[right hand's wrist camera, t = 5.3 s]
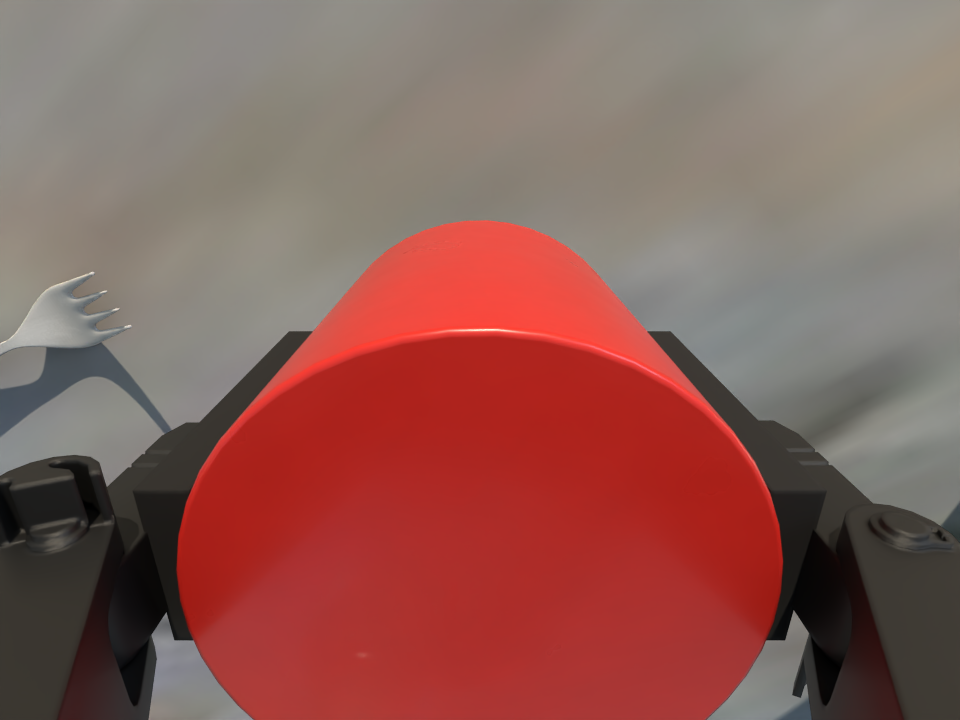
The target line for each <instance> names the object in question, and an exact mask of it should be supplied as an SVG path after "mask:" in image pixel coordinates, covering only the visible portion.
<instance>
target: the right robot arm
mask: <svg viewBox="0 0 960 720" xmlns="http://www.w3.org/2000/svg"><path fill="white" fill-rule="evenodd" d="M312 332H313V331H289V332H288V333H287V334H286V335H285V336H284V337H283V338H282V339H281V340H280V341H279V342H278V343H277V344H276V345H275V346H274V347H273V348H272V349H271V350H270V351H269V352H268V353H267V354H266V355H265V356H264V358H263V359H262V360H261V361H260V362H259V363H258V364H257V365H256V366H255V367H254V368H253V369H252V370H251V371H250V372H249V373H248V374H247V375H246V376H245V377H244V378H243V379H242V380H241V381H240V382H239V383H238V384H237V385H236V386H235V387H234V388H233V389H232V390H231V391H230V392H229V393H228V394H227V395H226V396H225V397H224V398H223V399H222V400H221V401H220V402H219V403H218V404H217V405H216V406H215V407H214V408H213V409H212V410H211V411H210V412H209V413H208V414H207V415H206V416H205V417H204V418H203V419H202V420H201V421H200V423H185V424H183V425H181V426H179V427H177V428H176V429H174V430H172V431H170V432H168V433H166V434H164V435H162V436H161V437H160V438H159V439H158V440H157V441H156V442H155V443H154V444H153V445H152V446H151V447H149V448H148V449H147V450H146V451H145V452H146V453H145V454H142V455H141V456H140V457H139V458H138V459H137V460H136V461H134V462H133V463H132V467H131V468H127V469H126V470H125V471H124V472H123V473H122V474H121V475H120V476H118V477H117V478H116V479H115V480H114V481H113V482H112V483H111V484H110V485H109V486H108V487H106V483H105V480H104V477H103V473H102V470H101V467H100V463H99V462H98V461H96V460H94V459H93V458H91V457H87V456H78V455H70V456H59V457H52V458H48V459H44V460H40V461H36V462H32V463H29V464H26V465H24V466H21V467H18V468H16V469H13V470H11V471H8V472H6V473H5V474H3V475H1V476H0V720H148V718H149V711H150V704H151V697H152V689H153V682H154V675H155V667H156V660H157V658H156V651H155V646H154V643H153V639H152V636H151V634H152V633H153V631H154V630H155V628H156V627H157V625H158V624H159V622H160V621H161V619H162V618H163V616H164V615H165V613H166V612H167V615H168V619H169V622H170V626H171V630H172V633H173V637H174V640H193V638H192V636H191V634H190V632H189V629H188V626H187V622H186V619H185V615H184V612H183V609H182V605H181V602H180V595H179V586H178V578H177V553H178V536H179V531H180V527H181V522H182V518H183V514H184V509H185V505H186V501H187V499H188V497H189V494H190V492H191V490H192V487H193V485H194V483H195V480H196V478H197V476H198V473H199V471H200V469H201V468H202V466H203V464H204V463H205V461H206V460H207V458H208V457H209V455H210V454H211V452H212V450H213V449H214V447H215V446H216V444H217V443H218V441H219V440H220V438H221V437H222V436H223V435H224V434H225V433H226V432H227V430H228V429H229V428H230V427H231V426H232V425H233V423H234V422H235V421H236V420H237V419H238V418H239V417H240V415H241V414H242V413H243V412H244V411H245V410H246V408H247V407H248V406H249V405H250V404H251V403H252V401H253V400H254V399H255V398H256V397H257V396H258V395H259V393H260V392H261V391H262V390H263V389H264V388H265V386H266V385H267V384H268V383H269V382H270V381H271V379H272V378H273V377H274V376H275V375H276V374H277V373H278V371H279V370H280V369H281V368H282V367H283V366H284V364H285V363H286V362H287V361H288V360H289V359H290V357H291V356H292V355H293V354H294V353H295V352H296V351H297V349H298V348H299V347H300V346H301V345H302V344H303V342H304V341H305V340H306V339H307V338H308V337H309V335H310V334H311V333H312ZM647 332H648V333H649V334H650V336H651V337H652V338H653V339H654V340H655V341H656V342H657V344H658V345H659V346H660V347H661V348H662V349H663V351H664V352H665V353H666V354H667V355H668V356H669V358H670V359H671V360H672V361H673V362H674V363H675V364H676V366H677V367H678V368H679V369H680V370H681V371H682V373H683V374H684V375H685V376H686V377H687V378H688V379H689V381H690V382H691V383H692V384H693V385H694V386H695V388H696V389H697V390H698V391H699V392H700V393H701V395H702V396H703V397H704V398H705V399H706V400H707V401H708V403H709V404H710V405H711V406H712V407H713V408H714V410H715V411H716V412H717V413H718V414H719V415H720V417H721V418H722V419H723V420H724V421H725V422H726V423H727V425H728V426H729V427H730V428H731V429H732V430H733V432H734V433H735V434H736V436H737V437H738V439H739V440H740V441H741V443H742V444H743V446H744V447H745V448H746V450H747V451H748V453H749V454H750V455H751V457H752V458H753V460H754V461H755V463H756V465H757V467H758V469H759V471H760V473H761V475H762V477H763V479H764V481H765V484H766V486H767V488H768V490H769V492H770V494H771V498H772V501H773V505H774V508H775V512H776V515H777V519H778V522H779V527H780V537H781V547H782V556H783V568H782V583H781V594H780V598H779V602H778V606H777V610H776V614H775V618H774V622H773V625H772V627H771V629H770V632H769V634H768V637H767V639H766V640H785V639H786V635H787V632H788V628H789V625H790V621H791V617H792V614H793V610H794V611H795V612H796V614H797V615H798V617H799V618H800V620H801V621H802V623H803V624H804V626H805V627H806V629H807V630H808V632H809V636H808V639H807V643H806V646H805V649H804V653H803V656H802V659H801V662H800V666H799V669H798V672H797V676H796V679H795V682H794V688H793V694H792V695H794V696H797V697H800V698H801V695H802V692H803V689H804V686H805V685H806V684H807V688H808V695H809V702H810V709H811V717H812V720H960V543H959V542H958V541H957V540H956V538H955V537H954V536H953V535H952V534H951V533H950V532H948V531H947V530H945V529H944V528H942V527H941V526H939V525H938V524H936V523H935V522H933V521H931V520H929V519H927V518H925V517H923V516H920V515H918V514H916V513H914V512H911V511H908V510H904V509H901V508H897V507H894V506H890V505H882V504H873V503H872V502H871V501H870V500H869V499H868V498H867V497H866V496H864V495H863V494H862V493H861V492H860V491H859V490H858V489H857V488H856V487H855V486H854V485H853V484H852V483H850V482H849V481H848V480H847V479H846V478H845V477H844V476H843V475H842V474H841V473H840V472H839V471H838V470H836V469H835V468H834V467H833V466H832V465H829V464H828V461H827V460H826V459H825V458H824V457H822V456H821V455H820V454H819V453H818V452H815V449H814V448H813V447H812V446H811V445H810V444H809V443H807V442H806V441H805V440H804V439H803V438H802V437H801V436H800V435H799V434H797V433H796V432H794V431H792V430H790V429H788V428H786V427H784V426H782V425H781V424H779V423H777V422H775V421H758V420H757V419H756V418H755V417H754V416H753V415H752V414H751V413H750V412H749V411H748V410H747V409H746V408H745V407H744V406H743V405H742V404H741V403H740V402H739V401H738V400H737V399H736V398H735V397H734V396H733V394H732V393H731V392H730V391H729V390H728V389H727V388H726V387H725V386H724V385H723V384H722V383H721V382H720V381H719V380H718V379H717V378H716V377H715V376H714V375H713V374H712V373H711V372H710V371H709V370H708V369H707V368H706V367H705V366H704V365H703V364H702V363H701V362H700V361H699V360H698V359H697V358H696V357H695V356H694V355H693V354H692V353H691V352H690V351H689V350H688V349H687V348H686V347H685V346H684V345H683V344H682V343H681V342H680V341H679V340H678V339H677V338H676V337H675V336H674V335H673V334H672V333H671V331H647Z"/></svg>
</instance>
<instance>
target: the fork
mask: <svg viewBox="0 0 960 720" xmlns="http://www.w3.org/2000/svg"><path fill="white" fill-rule="evenodd" d="M93 275H95V272H91V273H89V274H86V275H83V276H80V277H77V278H74V279H72V280H69V281H66V282H63V283H60V284H57V285H54V286H52V287H50V288H48V289H47V290H46V291H45V292H43V293H42V295H41V296H40V297H39V298H38V299H37V301H36V302H35V303H34V305H33V306H32V308H31V310H30V311H29V313H28V315H27V316H26V318H25V320H24V322H23V323H22V325H21V326H20V328H19V329H18V330H17V332H16V333H15V334H14V335H13V336H12V337H11V338H10V339H8V340H6V341H4V342H2V343H0V356H1V355H2V354H4V353H6V352H8V351H10V350H12V349H16V348H20V347H52V348H85V347H91V346H94V345H96V344H99V343H101V342H102V341H104V340H106V339H108V338H110V337H112V336H115V335H117V334H119V333H121V332H123V331H125V330H127V329H130V328H131V327H132V326H131V325H128V326H123V327H117V328H111V329H107V330H98V329H97V328H96V323H97V322H99V321H101V320H103V319H105V318H106V317H108V316H110V315H112V314H113V313H115V312H116V311H118V310H119V309H120V308H117V309H112V310H107V311H102V312H98V313H94V314H87V313H85V311H84V308H85V306H87V305H88V304H90V303H92V302H93V301H95V300H96V299H98V298H99V297H101V296H102V295H104V294H105V293H106V292H107V291H102V292H98V293H94V294H91V295H87V296H84V297H80V298H76V297H74V296H73V295H72V291H73V290H74V289H75V288H77V287H78V286H80V285H81V284H82V283H84V282H85V281H86V280H88V279H89V278H90V277H91V276H93Z"/></svg>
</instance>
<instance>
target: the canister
mask: <svg viewBox="0 0 960 720" xmlns="http://www.w3.org/2000/svg"><path fill="white" fill-rule="evenodd" d="M782 568H783V556H782V547H781V537H780V527H779V522H778V519H777V515H776V512H775V508H774V505H773V501H772V498H771V494H770V492H769V490H768V488H767V486H766V484H765V481H764V479H763V477H762V475H761V473H760V471H759V469H758V467H757V465H756V463H755V461H754V460H753V458H752V457H751V455H750V454H749V453H748V451H747V450H746V448H745V447H744V446H743V444H742V443H741V441H740V440H739V439H738V437H737V436H736V434H735V433H734V432H733V430H732V429H731V428H730V427H729V426H728V425H727V423H726V422H725V421H724V420H723V419H722V418H721V417H720V415H719V414H718V413H717V412H716V411H715V410H714V408H713V407H712V406H711V405H710V404H709V403H708V401H707V400H706V399H705V398H704V397H703V396H702V395H701V393H700V392H699V391H698V390H697V389H696V388H695V386H694V385H693V384H692V383H691V382H690V381H689V379H688V378H687V377H686V376H685V375H684V374H683V373H682V371H681V370H680V369H679V368H678V367H677V366H676V364H675V363H674V362H673V361H672V360H671V359H670V358H669V356H668V355H667V354H666V353H665V352H664V351H663V349H662V348H661V347H660V346H659V345H658V344H657V342H656V341H655V340H654V339H653V338H652V337H651V336H650V334H649V333H648V332H647V331H646V330H645V329H644V327H643V326H642V325H641V324H640V323H639V322H638V321H637V319H636V318H635V317H634V316H633V315H632V314H631V312H630V311H629V310H628V309H627V308H626V307H625V305H624V304H623V303H622V302H621V301H620V300H619V299H618V297H617V296H616V295H615V294H614V293H613V292H612V290H611V289H610V288H609V287H608V286H607V285H606V283H605V282H604V281H603V280H602V279H601V278H600V277H599V275H598V274H597V273H596V272H595V271H594V270H593V269H592V268H591V267H590V266H589V265H588V264H587V263H586V262H585V261H584V260H583V259H582V258H581V257H580V256H578V255H577V254H576V253H574V252H573V251H572V250H571V249H569V248H568V247H567V246H565V245H563V244H562V243H560V242H558V241H556V240H555V239H553V238H551V237H549V236H547V235H545V234H542V233H540V232H537V231H535V230H532V229H530V228H526V227H522V226H518V225H515V224H511V223H504V222H496V221H463V222H456V223H450V224H444V225H441V226H437V227H434V228H431V229H427V230H424V231H422V232H420V233H417V234H415V235H413V236H411V237H409V238H406V239H405V240H403V241H401V242H400V243H398V244H397V245H395V246H393V247H392V248H390V249H389V250H387V251H386V252H385V253H384V254H383V255H381V256H380V257H379V258H378V259H377V260H375V261H374V262H373V263H372V264H371V265H370V266H369V268H368V269H367V270H366V271H365V272H364V273H363V274H362V275H361V277H360V278H359V279H358V280H357V281H356V282H355V283H354V285H353V286H352V287H351V288H350V289H349V290H348V292H347V293H346V294H345V295H344V296H343V297H342V298H341V300H340V301H339V302H338V303H337V304H336V305H335V307H334V308H333V309H332V310H331V311H330V312H329V314H328V315H327V316H326V317H325V318H324V319H323V320H322V322H321V323H320V324H319V325H318V326H317V327H316V329H315V330H314V331H313V332H312V333H311V334H310V335H309V337H308V338H307V339H306V340H305V341H304V342H303V344H302V345H301V346H300V347H299V348H298V349H297V351H296V352H295V353H294V354H293V355H292V356H291V357H290V359H289V360H288V361H287V362H286V363H285V364H284V366H283V367H282V368H281V369H280V370H279V371H278V373H277V374H276V375H275V376H274V377H273V378H272V379H271V381H270V382H269V383H268V384H267V385H266V386H265V388H264V389H263V390H262V391H261V392H260V393H259V395H258V396H257V397H256V398H255V399H254V400H253V401H252V403H251V404H250V405H249V406H248V407H247V408H246V410H245V411H244V412H243V413H242V414H241V415H240V417H239V418H238V419H237V420H236V421H235V422H234V423H233V425H232V426H231V427H230V428H229V429H228V430H227V432H226V433H225V434H224V435H223V436H222V437H221V438H220V440H219V441H218V443H217V444H216V446H215V447H214V449H213V450H212V452H211V454H210V455H209V457H208V458H207V460H206V461H205V463H204V464H203V466H202V468H201V469H200V471H199V473H198V476H197V478H196V480H195V483H194V485H193V487H192V490H191V492H190V494H189V497H188V499H187V501H186V505H185V509H184V514H183V518H182V522H181V527H180V531H179V536H178V553H177V578H178V586H179V595H180V602H181V605H182V609H183V612H184V615H185V619H186V622H187V626H188V629H189V632H190V634H191V636H192V638H193V640H194V642H195V644H196V647H197V649H198V651H199V653H200V655H201V657H202V659H203V660H204V662H205V663H206V665H207V666H208V668H209V669H210V671H211V672H212V674H213V676H214V677H215V679H216V680H217V682H218V683H219V684H220V685H221V686H222V688H223V689H224V690H225V691H226V692H227V693H228V695H229V696H230V697H231V698H232V699H233V700H234V701H235V703H236V704H237V705H238V706H239V707H240V708H241V709H242V710H243V711H245V712H246V713H247V714H248V715H249V716H250V717H251V718H252V719H253V720H707V719H708V718H709V717H710V716H711V715H712V714H713V713H714V712H715V711H716V710H717V709H718V708H719V707H720V706H721V705H722V704H723V703H724V702H725V701H726V700H727V699H728V698H729V697H730V695H731V694H732V693H733V692H734V690H735V689H736V688H737V687H738V686H739V684H740V683H741V682H742V681H743V679H744V678H745V677H746V676H747V674H748V672H749V671H750V669H751V667H752V666H753V664H754V662H755V661H756V659H757V657H758V656H759V654H760V652H761V651H762V649H763V646H764V644H765V641H766V639H767V637H768V634H769V632H770V629H771V627H772V625H773V622H774V618H775V614H776V610H777V606H778V602H779V598H780V594H781V583H782Z"/></svg>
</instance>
